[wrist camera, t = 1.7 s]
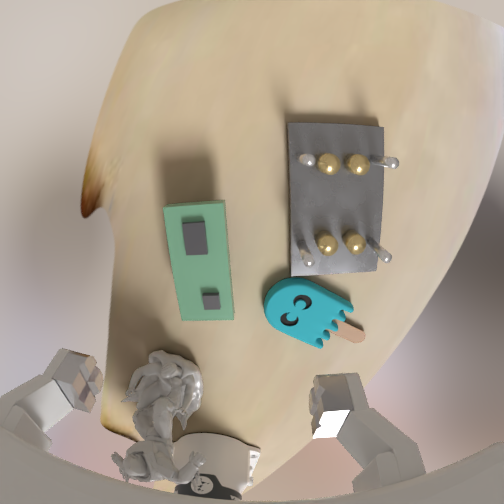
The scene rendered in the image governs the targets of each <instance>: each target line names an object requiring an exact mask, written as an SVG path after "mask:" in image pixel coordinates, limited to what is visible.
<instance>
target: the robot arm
mask: <svg viewBox="0 0 504 504" xmlns="http://www.w3.org/2000/svg"><path fill="white" fill-rule="evenodd" d="M96 363H97V362H96V360H95V359H94V357H93V356H90V355H86V354H82V353H78V352H74V351H71V350H67V349H63V348H62V349H60V350H59V351H58V352H57V354H56V355H55V357H54V358H53V360H52V361H51V363H50V364H49V366H48V367H47V369H46V370H45V372H44V374H43V375H38V376H36V377H34V378H33V379H31V380H30V381H27V382H26V383H24V384H22V385H20V386H18V387H17V388H15V389H13V390H11V391H10V392H8V393H6V394H4V395H3V396H1V398H0V504H504V442H497V443H494V444H492V445H490V446H488V447H487V448H485V449H483V450H481V451H479V452H477V453H475V454H473V455H471V456H469V457H466V458H464V459H462V460H460V461H458V462H455V463H453V464H450V465H448V466H446V467H443V468H441V469H438V470H435V471H433V472H430V473H427V474H426V471H425V468H424V464H423V461H422V458H421V455H420V452H419V449H418V446H417V443H415V442H414V441H413V440H411V439H410V438H409V437H407V435H405V434H404V433H403V432H401V431H400V430H399V429H398V428H397V427H395V426H394V425H393V424H392V423H391V422H389V421H388V420H387V419H386V418H385V417H383V416H382V415H381V414H380V413H379V412H377V411H376V410H375V409H374V408H369V406H368V402H367V399H366V396H365V392H364V389H363V386H362V383H361V380H360V377H359V374H358V373H346V374H328V375H316V376H315V377H314V380H313V384H314V387H313V388H312V389H311V391H310V395H309V411H310V414H311V415H313V419H312V422H311V426H312V434H313V438H320V437H335V436H336V438H337V439H338V440H339V442H340V443H341V444H342V445H343V446H344V448H345V449H346V450H347V451H348V452H349V453H350V454H351V456H352V457H353V458H354V459H355V460H356V461H357V462H358V463H359V464H360V466H361V467H362V468H363V469H364V470H363V471H362V472H361V473H360V474H359V475H358V476H356V477H355V479H354V480H353V481H352V483H353V490H354V493H352V494H345V495H339V496H332V497H324V498H315V499H305V500H290V501H241V499H242V496H241V494H242V492H243V491H244V489H245V488H246V487H247V486H252V485H253V477H251V475H252V473H253V470H254V468H255V466H256V463H257V461H258V458H259V456H260V452H261V450H260V449H259V448H256V447H252V446H248V445H246V444H244V443H243V442H241V441H239V440H237V439H234V438H231V437H228V436H224V435H219V434H212V433H194V434H188V435H185V436H183V437H181V438H180V439H179V440H178V441H177V442H174V443H173V449H172V450H171V451H172V454H173V460H174V463H175V467H176V468H177V469H178V470H180V469H181V468H183V467H184V466H185V465H186V464H187V463H188V462H189V456H190V454H191V452H192V451H194V456H195V453H196V452H200V453H201V454H203V455H204V456H205V458H206V459H207V460H206V461H205V463H204V464H203V465H200V466H199V470H198V471H200V473H199V479H198V484H197V483H196V479H195V477H194V478H193V480H195V485H196V491H194V487H193V484H192V482H191V481H190V482H189V483H187V484H178V483H175V482H174V483H175V484H176V485H177V486H176V487H175V491H174V493H170V492H165V491H160V490H156V489H151V488H146V487H143V486H138V485H134V484H131V483H128V482H124V481H120V480H117V479H114V478H111V477H108V476H105V475H102V474H99V473H96V472H93V471H91V470H88V469H85V468H83V467H80V466H78V465H75V464H73V463H70V462H68V461H66V460H63V459H61V458H59V457H57V456H54V455H53V454H51V453H48V452H49V449H50V447H51V445H52V441H51V439H50V438H49V437H48V436H47V435H46V434H45V432H46V431H47V430H49V429H50V428H51V427H52V426H54V425H55V424H56V423H57V422H59V421H60V420H61V419H62V418H63V417H65V416H66V415H67V414H68V413H69V412H71V411H72V410H73V408H75V409H78V410H82V411H85V412H89V413H90V412H91V410H92V408H93V406H94V404H95V402H96V399H95V395H96V394H98V393H99V392H100V391H101V388H102V385H103V376H102V373H101V371H100V369H98V368H97V367H96V366H95V365H96ZM196 474H197V473H196ZM197 475H198V474H197Z"/></svg>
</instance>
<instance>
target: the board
mask: <svg viewBox="0 0 504 504" xmlns="http://www.w3.org/2000/svg"><path fill="white" fill-rule="evenodd" d="M163 212H164V219H165V227H166V234H167V240H168V247H169V253H170V259H171V265H172V271H173V277H174V282H175V288H176V293H177V298H178V303H179V308H180V313H181V318H182V320H183V321H200V320H234V313H235V311H234V301H233V290H232V279H231V268H230V257H229V245H228V233H227V220H226V207H225V200H215V201H201V202H188V203H176V204H167V205H166V206H165V207H163Z"/></svg>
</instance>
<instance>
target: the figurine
mask: <svg viewBox="0 0 504 504" xmlns="http://www.w3.org/2000/svg"><path fill="white" fill-rule="evenodd" d="M142 376H144V377H143V378H142ZM141 378H142V379H141ZM140 379H141V381H140V383H139V385H138V386H137V388H136V389H135V387H136V385H137V382H138V381H139V380H140ZM131 392H132V394H131ZM125 394H126V396H128V397H126V398H125V399H123V400H122V401H121V402H127V401H132V402H138V403H137V409H138V410H137V411H135V413H134V415H133V417H132V418H133V422H134V424H135V428H136V430H137V431H138V433H139V434H140V435H141V437H142V438H143V439H144V440H145V441H139V442H137V443H135V444H133V445H132V446H131V447H130V448H129V449H128V450H127V452H126V458H125V459H123V458H122V457H121V456H120V455H119V454H118V453H116V452H114V453H115V454H112V455H111V457H112V460H113V461H114V463H116V464H117V466H119V470H120V473H121V472H122V473H121V474H122V476H123V478H124V476H125V478H124V479H125V480H126V482H128V480H129V478H131V479H134V480H139V481H140V482H153V481H158V480H164V479H167V480H169V481H172V482H175V483H178V484H187V483H189V482H190V481H191V482H192V484H193V487H194V491H196V485H195V480H193V478H194V477H195V479H196V483H197V484H198V479H199V473H200V471H198V470H199V466H200V465H203V464H204V463H205V461H206V460H207V459H206V458H205V456H204V455H203V454H201V453H200V452H196V453H195V456H194V451H192V452H191V454H190V456H189V462H188V463H187V464H186V465H185V466H184V467H183V468H181V469H180V470H178V469H177V468H176V467H175V463H174V460H173V456H172V451H171V450H172V449H173V442H172V427H173V426H172V420H173V418H174V416H175V415H176V416H177V418H178V419H179V421H180V422H181V425H182V428H183V430H185V428H186V426H187V420H188V418H189V417H190V416H191V415H192V413H193V412H194V411H196V410H198V408H199V407H200V406H201V397H202V395H203V380H202V376H201V372H200V370H199V367H198V366H197V365H195V364H194V363H193V362H192V361H190V360H186V359H184V358H183V357H181V356H180V355H174V354H169V353H166V352H164V351H163V350H160V351H154V352H152V353H151V354H149V364H147V365H145V366H142V367H140V368H138V369H136V371H134V373H133V375H132V378H131V381H130V384H129V389H128V390H127V391H126V393H125ZM129 394H130V395H129ZM196 473H197V474H198V475H197V474H196Z"/></svg>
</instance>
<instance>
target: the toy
mask: <svg viewBox="0 0 504 504" xmlns="http://www.w3.org/2000/svg"><path fill="white" fill-rule="evenodd" d="M341 310H345V311H348V312H350V313H351V312H353V310H354V309H353V305H352V304H351V303H350V302H349V301H347V300H345V299H344V298H342V297H340V296H338V295H336V294H334V293H333V292H331V291H329V290H327V289H325V288H323V287H321V286H319V285H317V284H315V283H314V282H311V281H309V280H307V279H304V278H297V277H295V278H287V279H283V280H281V281H279V282H278V283H276V284H275V285H274V286H273V287H272V288H271V289H270V290H269V291H268V293H267V295H266V298H265V302H264V313H265V316H266V318H267V320H268V322H269V323H270V324H271V325H272V326H273V327H274V328H276V329H277V330H279V331H281V332H283V333H285V334H287V335H290V336H292V337H294V338H296V339H299V340H301V341H303V342H305V343H308V344H310V345H312V346H315V347H317V348H320V349H321V348H322V347H323V341H322V339H325V340H329V339H330V334H329V332H331V333H333V334H335V335H338V336H340V337H342V338H344V339H346V340H349V341H351V342H353V343H359V342H362V341H363V340H364V339H365V333H364V332H363V331H362V330H360V329H358V328H356V327H354V326H352V325H350V324H348V323H346V322H344V321H345V320H346V316H345V314H344V312H343V311H341ZM321 338H322V339H321Z"/></svg>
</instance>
